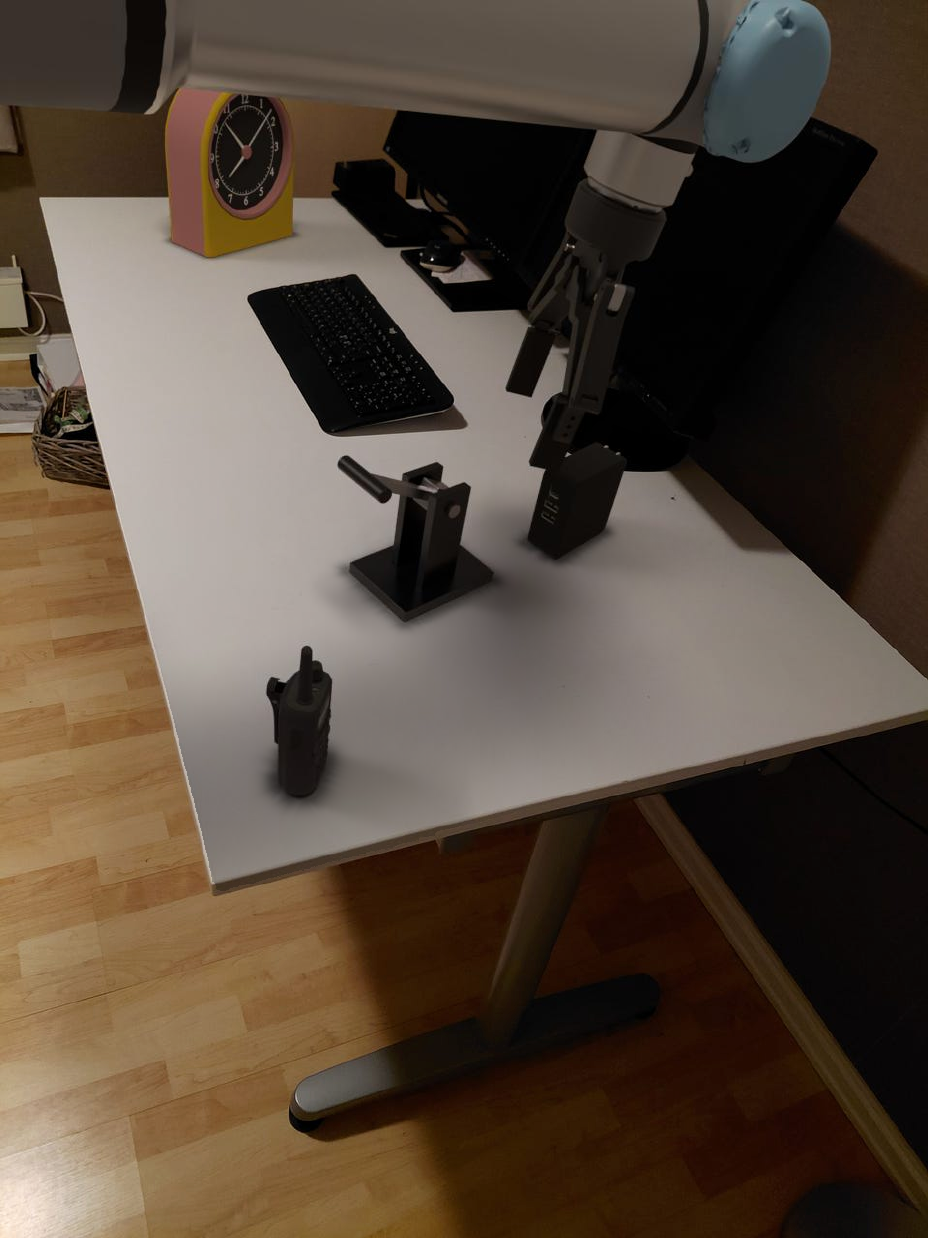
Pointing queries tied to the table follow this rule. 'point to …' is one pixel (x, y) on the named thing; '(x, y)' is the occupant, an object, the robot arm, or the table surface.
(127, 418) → the table surface
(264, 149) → the alarm clock
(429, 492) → the lever
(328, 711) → the two-way radio
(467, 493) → the bracket
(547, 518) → the electronic device
